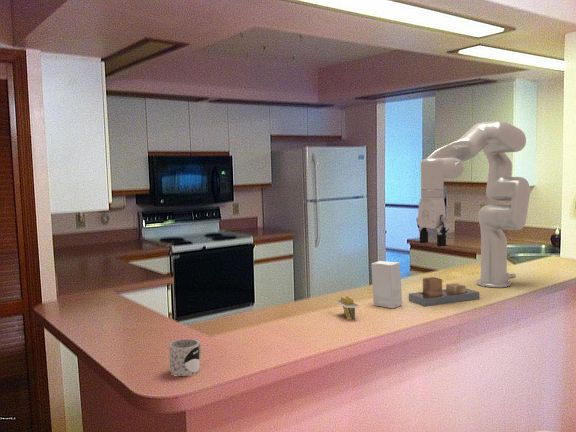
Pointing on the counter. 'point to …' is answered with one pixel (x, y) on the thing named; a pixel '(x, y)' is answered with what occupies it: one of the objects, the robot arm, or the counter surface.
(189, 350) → the mug
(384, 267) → the skincare box
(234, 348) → the counter surface
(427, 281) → the walnut block
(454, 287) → the seated oak block
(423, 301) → the grey flat frame
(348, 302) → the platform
